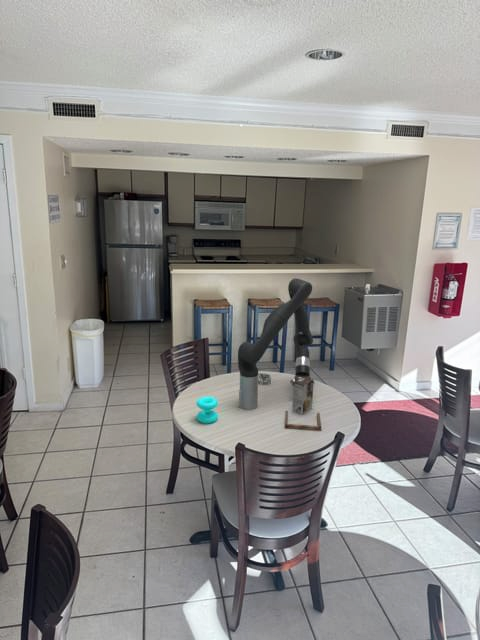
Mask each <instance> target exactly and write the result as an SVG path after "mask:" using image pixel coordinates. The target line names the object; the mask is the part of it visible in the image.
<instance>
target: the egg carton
mask: <svg viewBox="0 0 480 640" xmlns="http://www.w3.org/2000/svg"><path fill="white" fill-rule="evenodd" d="M271 379H272V375H271V374H270V373H269V374H267V373H263V372H262V373H261V372H258V385H261V386H264V385H267V386H270V385H271V384H272V381H271Z"/></svg>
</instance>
